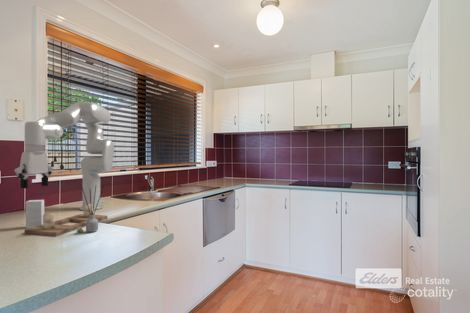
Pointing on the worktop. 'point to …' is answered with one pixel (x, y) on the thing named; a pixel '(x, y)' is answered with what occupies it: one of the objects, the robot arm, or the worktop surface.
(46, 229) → the walnut rail
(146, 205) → the worktop surface
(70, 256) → the worktop surface
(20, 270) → the worktop surface
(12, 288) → the worktop surface
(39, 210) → the skincare box
